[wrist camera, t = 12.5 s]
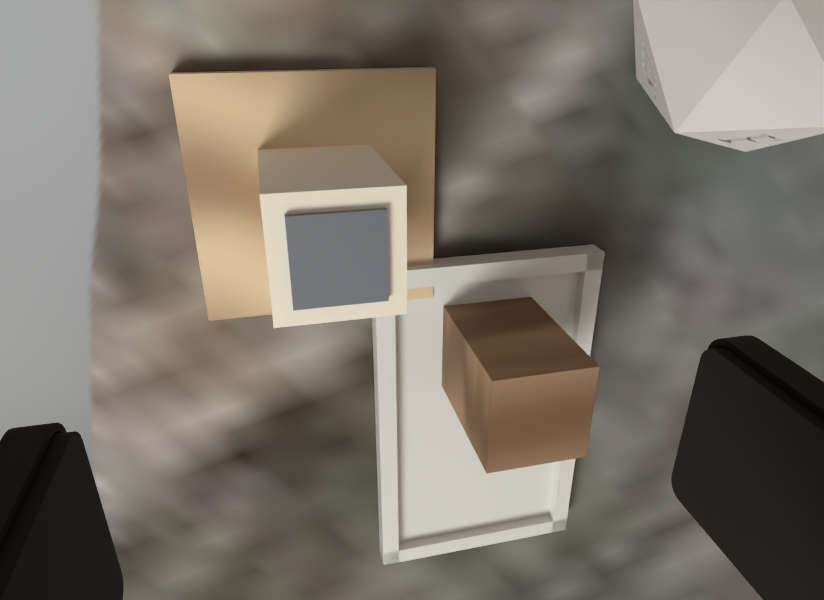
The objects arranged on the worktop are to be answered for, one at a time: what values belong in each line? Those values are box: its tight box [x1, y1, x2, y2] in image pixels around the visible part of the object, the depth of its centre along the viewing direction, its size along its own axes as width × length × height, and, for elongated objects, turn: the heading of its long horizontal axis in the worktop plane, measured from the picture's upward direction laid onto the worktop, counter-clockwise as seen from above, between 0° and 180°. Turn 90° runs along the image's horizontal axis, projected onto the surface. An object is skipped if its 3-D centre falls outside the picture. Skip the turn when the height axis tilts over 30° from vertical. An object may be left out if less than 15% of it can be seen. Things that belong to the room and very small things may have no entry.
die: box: [633, 0, 824, 152], centre depth 20 cm, size 8×9×10 cm
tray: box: [372, 244, 605, 565], centre depth 29 cm, size 16×10×1 cm, turn 0°
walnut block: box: [442, 297, 600, 474], centre depth 25 cm, size 4×4×6 cm
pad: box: [169, 67, 436, 321], centre depth 23 cm, size 9×9×1 cm
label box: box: [257, 144, 407, 328], centre depth 20 cm, size 4×4×6 cm
